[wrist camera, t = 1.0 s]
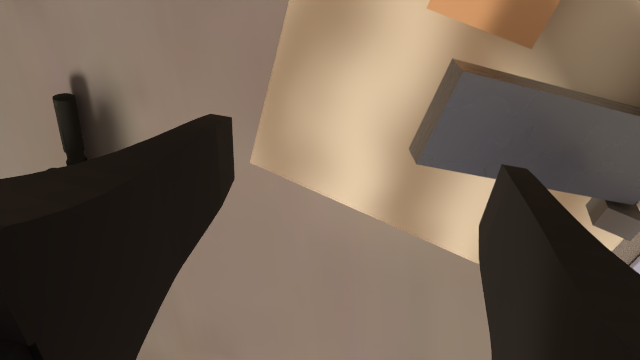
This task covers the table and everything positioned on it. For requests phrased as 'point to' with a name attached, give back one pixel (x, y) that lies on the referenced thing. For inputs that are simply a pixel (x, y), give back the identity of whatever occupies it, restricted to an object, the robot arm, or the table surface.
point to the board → (425, 106)
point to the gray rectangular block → (531, 133)
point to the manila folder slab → (501, 16)
